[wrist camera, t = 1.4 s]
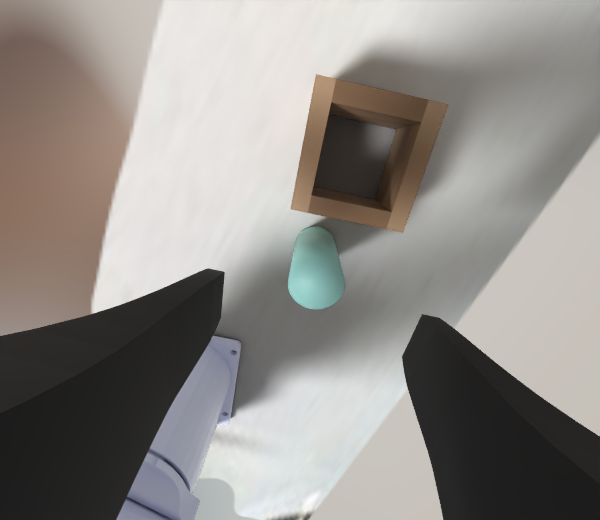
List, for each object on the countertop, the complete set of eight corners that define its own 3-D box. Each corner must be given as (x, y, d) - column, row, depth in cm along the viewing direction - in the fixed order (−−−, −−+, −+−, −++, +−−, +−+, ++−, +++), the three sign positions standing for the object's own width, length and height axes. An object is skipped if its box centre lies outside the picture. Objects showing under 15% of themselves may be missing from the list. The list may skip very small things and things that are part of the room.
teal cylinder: (330, 267, 20) (336, 314, 14) (291, 260, 19) (283, 303, 14) (339, 230, 19) (351, 264, 13) (299, 222, 18) (293, 252, 13)
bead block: (384, 216, 18) (402, 232, 14) (295, 197, 18) (290, 209, 14) (416, 115, 16) (448, 104, 12) (315, 92, 16) (316, 74, 12)
